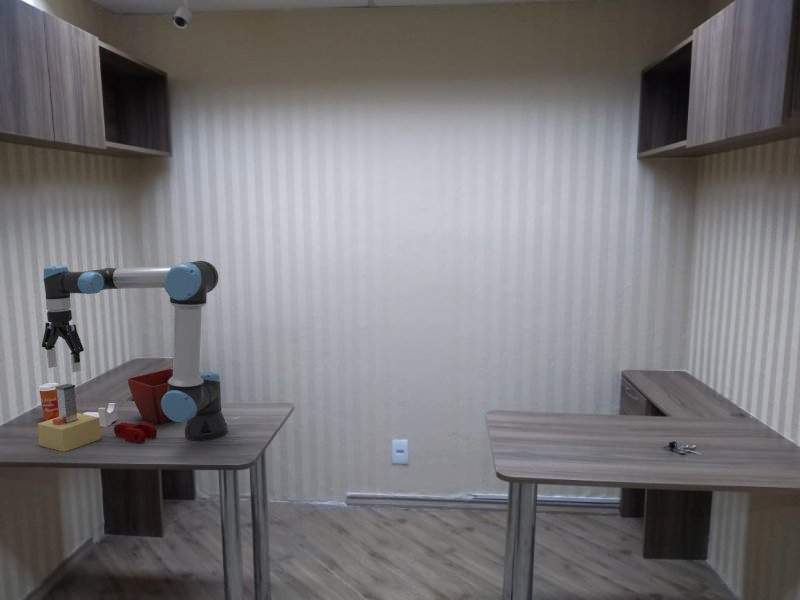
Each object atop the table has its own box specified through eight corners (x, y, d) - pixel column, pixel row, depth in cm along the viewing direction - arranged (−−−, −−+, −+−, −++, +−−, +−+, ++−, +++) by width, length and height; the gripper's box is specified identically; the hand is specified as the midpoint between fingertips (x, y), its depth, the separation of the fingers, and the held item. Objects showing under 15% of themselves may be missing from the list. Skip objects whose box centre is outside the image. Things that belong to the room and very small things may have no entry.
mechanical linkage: (157, 438, 220) (156, 424, 219) (142, 444, 213) (141, 431, 213) (124, 432, 226) (123, 419, 225) (109, 438, 220) (107, 425, 219)
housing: (100, 438, 219) (98, 413, 218) (64, 452, 207) (61, 425, 206) (76, 432, 226) (74, 408, 224) (39, 445, 214) (36, 419, 212)
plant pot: (155, 429, 229) (152, 386, 226) (129, 419, 240) (126, 378, 238) (199, 415, 244) (196, 375, 241) (172, 407, 255) (169, 368, 253)
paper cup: (37, 422, 238) (33, 387, 236) (47, 415, 246) (44, 382, 244) (57, 421, 238) (54, 387, 237) (67, 415, 246) (64, 382, 244)
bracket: (117, 421, 238) (115, 403, 237) (106, 427, 232) (104, 408, 230) (87, 420, 240) (85, 402, 239) (75, 426, 233) (73, 407, 232)
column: (80, 440, 217) (75, 385, 214) (68, 445, 213) (63, 388, 210) (72, 438, 219) (67, 383, 217) (60, 443, 215) (55, 386, 213)
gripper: (91, 310, 207) (96, 370, 210) (48, 306, 219) (53, 363, 222) (71, 314, 201) (76, 375, 204) (27, 309, 213) (32, 367, 216)
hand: (64, 369), depth 213 cm, fingers open, 13 cm apart
